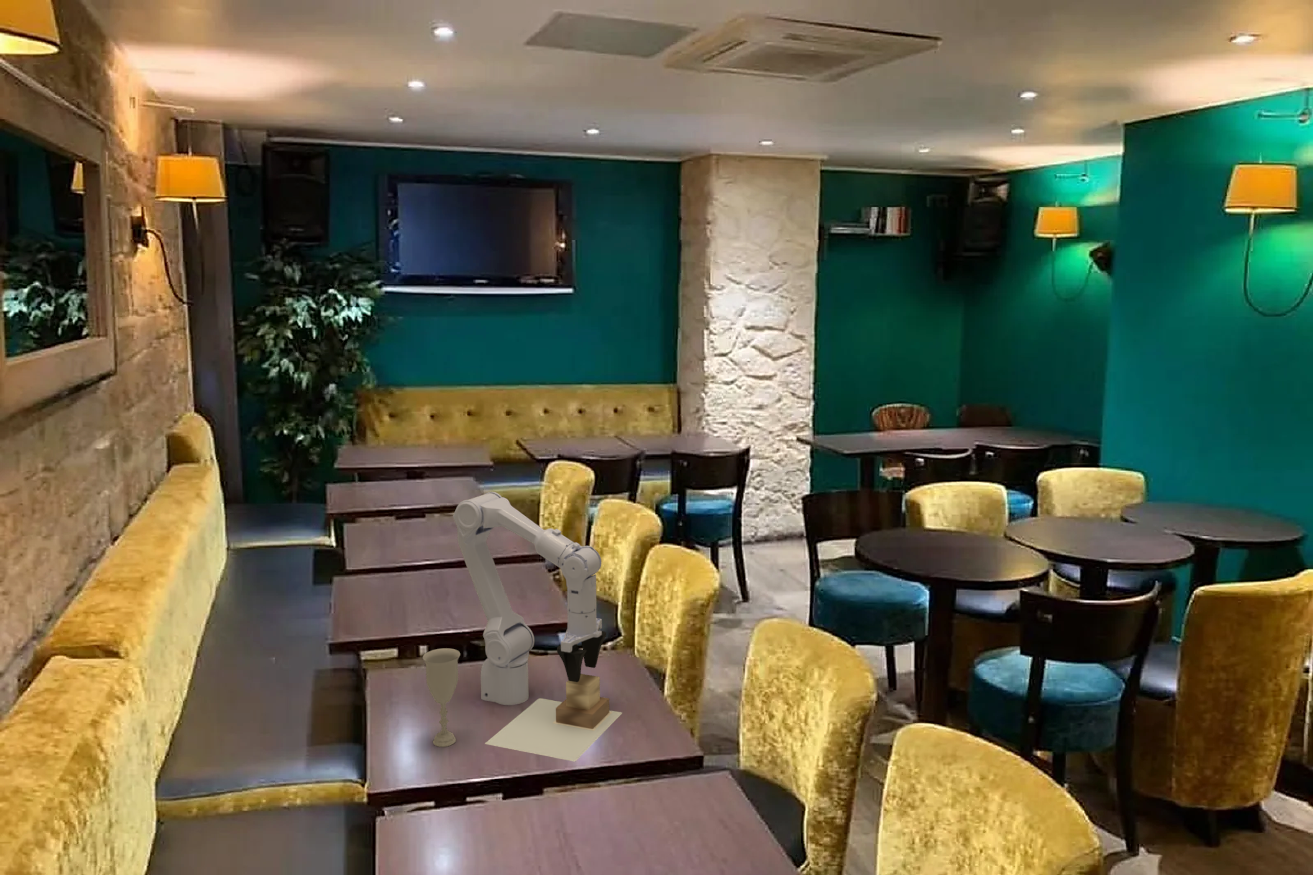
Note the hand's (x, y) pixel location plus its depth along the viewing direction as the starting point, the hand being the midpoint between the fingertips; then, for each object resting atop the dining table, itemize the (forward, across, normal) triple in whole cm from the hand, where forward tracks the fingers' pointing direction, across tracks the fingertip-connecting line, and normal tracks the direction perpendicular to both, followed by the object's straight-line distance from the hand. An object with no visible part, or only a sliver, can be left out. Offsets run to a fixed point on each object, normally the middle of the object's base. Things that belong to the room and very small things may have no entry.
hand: (582, 673), depth 201 cm
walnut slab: (+8, -2, -1) cm, 9 cm away
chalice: (+10, -21, +19) cm, 30 cm away
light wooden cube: (+6, -2, -1) cm, 6 cm away
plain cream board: (+9, -8, +2) cm, 12 cm away
